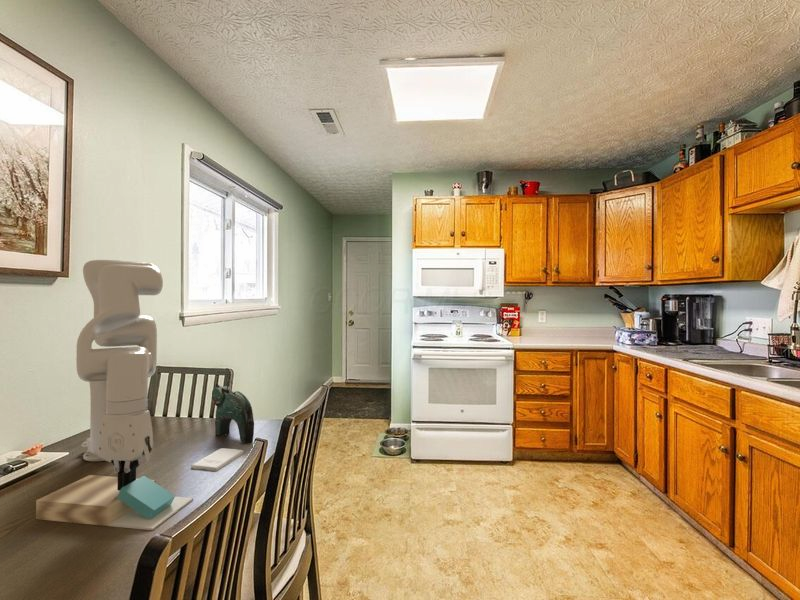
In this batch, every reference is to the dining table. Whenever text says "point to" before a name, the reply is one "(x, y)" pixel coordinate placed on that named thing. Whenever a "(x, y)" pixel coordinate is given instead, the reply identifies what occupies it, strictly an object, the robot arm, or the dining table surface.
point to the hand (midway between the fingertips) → (126, 487)
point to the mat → (141, 522)
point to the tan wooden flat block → (84, 502)
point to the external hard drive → (217, 459)
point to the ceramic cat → (233, 413)
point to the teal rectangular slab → (146, 497)
